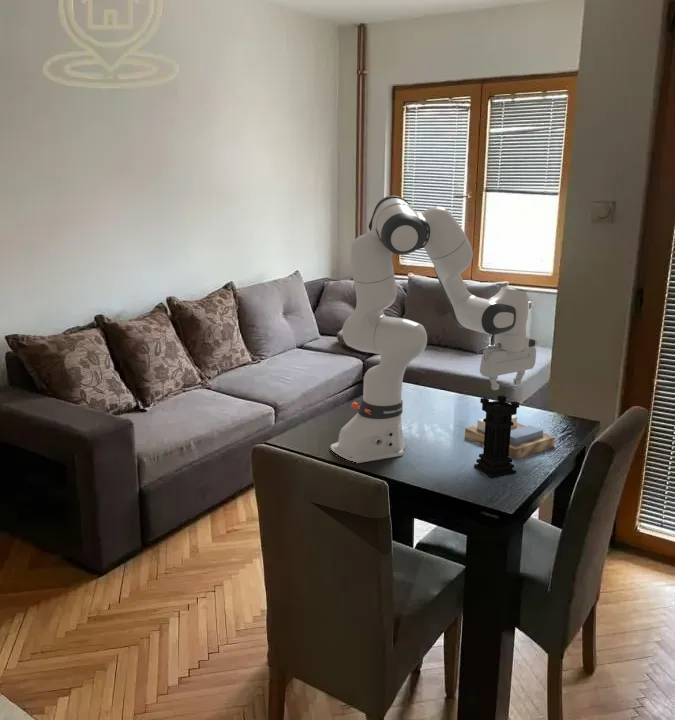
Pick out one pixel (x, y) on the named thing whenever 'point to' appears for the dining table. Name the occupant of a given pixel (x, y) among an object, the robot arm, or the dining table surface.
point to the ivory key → (482, 424)
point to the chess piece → (497, 438)
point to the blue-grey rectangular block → (525, 434)
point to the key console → (515, 450)
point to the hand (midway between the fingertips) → (506, 387)
